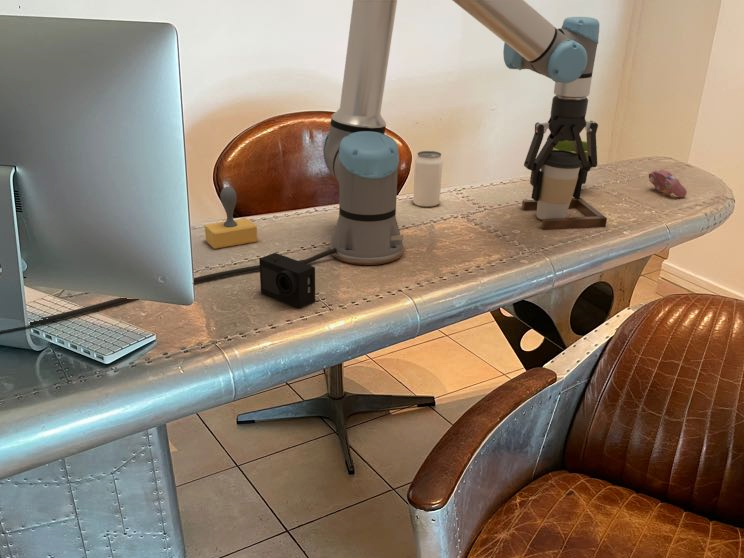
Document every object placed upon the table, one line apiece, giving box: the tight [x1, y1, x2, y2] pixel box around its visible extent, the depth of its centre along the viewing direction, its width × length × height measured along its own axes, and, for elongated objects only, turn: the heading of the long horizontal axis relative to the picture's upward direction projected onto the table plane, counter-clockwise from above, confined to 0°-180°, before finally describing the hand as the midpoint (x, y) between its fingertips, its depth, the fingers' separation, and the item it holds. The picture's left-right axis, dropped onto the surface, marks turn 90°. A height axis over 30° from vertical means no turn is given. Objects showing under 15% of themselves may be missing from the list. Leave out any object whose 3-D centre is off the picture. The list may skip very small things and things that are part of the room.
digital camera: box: [258, 252, 316, 309], centre depth 149 cm, size 10×5×7 cm, turn 47°
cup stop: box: [521, 197, 608, 230], centre depth 189 cm, size 15×15×2 cm
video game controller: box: [648, 168, 688, 199], centre depth 204 cm, size 10×5×7 cm, turn 17°
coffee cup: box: [535, 150, 582, 220], centre depth 185 cm, size 9×9×15 cm
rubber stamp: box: [204, 186, 258, 250], centre depth 172 cm, size 10×6×12 cm, turn 117°
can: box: [412, 150, 443, 208], centre depth 195 cm, size 6×6×12 cm
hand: (555, 198), depth 187 cm, fingers closed on coffee cup, 9 cm apart
